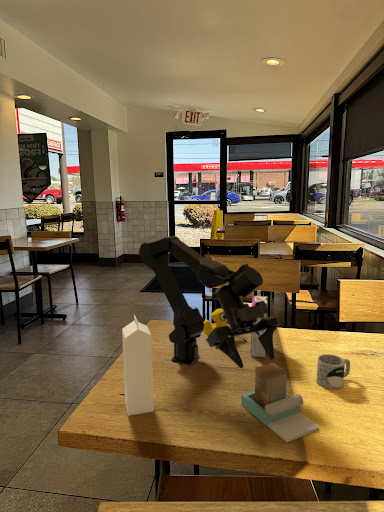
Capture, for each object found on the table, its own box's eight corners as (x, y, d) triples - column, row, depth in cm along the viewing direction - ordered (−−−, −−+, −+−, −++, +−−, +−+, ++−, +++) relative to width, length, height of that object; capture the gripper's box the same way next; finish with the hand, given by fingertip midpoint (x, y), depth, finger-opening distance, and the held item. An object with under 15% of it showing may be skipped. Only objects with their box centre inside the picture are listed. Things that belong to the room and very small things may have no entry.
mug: (329, 392, 93) (330, 367, 92) (311, 380, 99) (312, 357, 98) (358, 383, 97) (360, 360, 96) (339, 372, 103) (340, 350, 102)
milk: (128, 416, 84) (123, 324, 80) (125, 401, 90) (120, 315, 86) (154, 411, 86) (151, 321, 82) (149, 397, 91) (146, 312, 87)
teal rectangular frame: (241, 404, 88) (241, 385, 87) (272, 394, 93) (273, 376, 92) (285, 443, 75) (286, 421, 74) (319, 428, 79) (321, 408, 78)
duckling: (230, 332, 133) (230, 305, 131) (236, 337, 128) (236, 310, 126) (200, 335, 130) (200, 308, 128) (205, 341, 125) (205, 313, 123)
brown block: (254, 406, 87) (255, 367, 86) (271, 401, 90) (272, 362, 88) (268, 418, 83) (269, 377, 81) (285, 412, 85) (287, 372, 83)
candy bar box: (251, 342, 124) (252, 295, 121) (266, 343, 123) (268, 296, 120) (249, 357, 113) (251, 305, 110) (266, 358, 112) (268, 306, 109)
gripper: (214, 296, 86) (240, 359, 78) (276, 286, 94) (305, 342, 87) (197, 317, 94) (220, 376, 87) (256, 306, 103) (281, 359, 95)
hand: (258, 363), depth 89 cm, fingers open, 9 cm apart
